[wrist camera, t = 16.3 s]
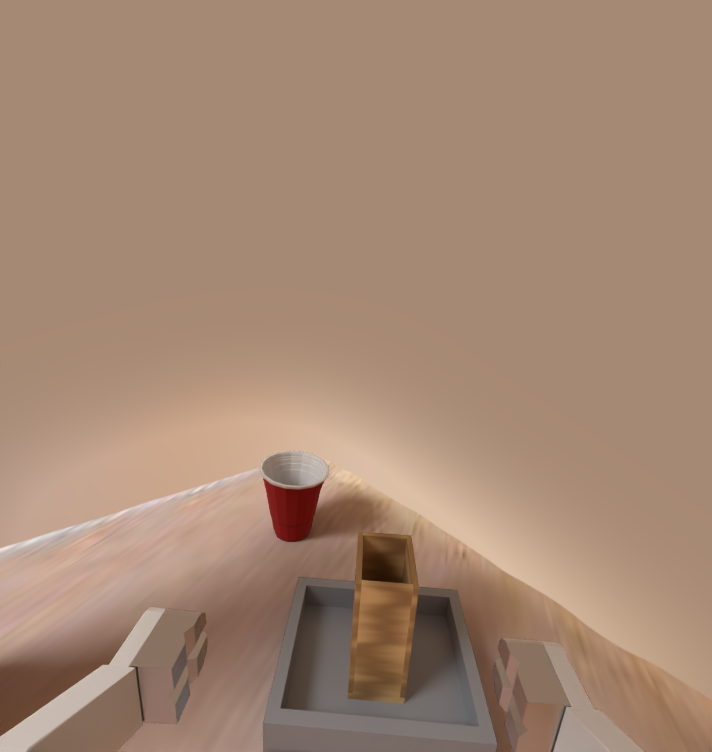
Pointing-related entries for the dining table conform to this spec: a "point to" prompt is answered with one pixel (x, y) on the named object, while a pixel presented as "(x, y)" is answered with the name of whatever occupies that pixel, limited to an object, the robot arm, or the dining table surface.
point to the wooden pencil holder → (382, 617)
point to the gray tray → (373, 718)
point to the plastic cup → (293, 491)
